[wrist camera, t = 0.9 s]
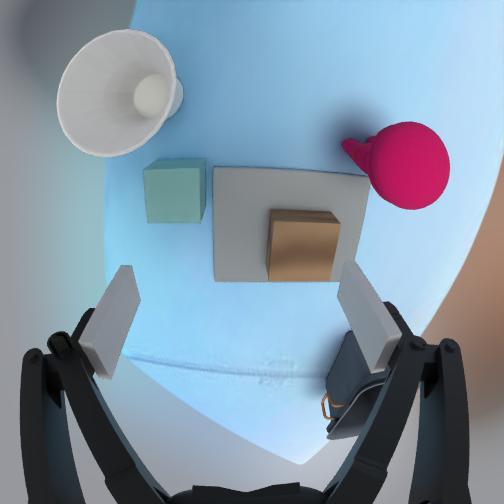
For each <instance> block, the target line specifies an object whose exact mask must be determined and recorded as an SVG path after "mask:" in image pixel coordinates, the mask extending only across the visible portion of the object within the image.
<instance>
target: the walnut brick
mask: <svg viewBox="0 0 504 504" xmlns="http://www.w3.org/2000/svg"><path fill="white" fill-rule="evenodd" d="M340 228H341V223H340V222H339V221H338V219H337V218H336V217H335V216H334V215H333V213H332V212H330V211H311V210H289V209H270V216H269V229H268V241H267V254H266V269H267V275H268V280H269V281H329V280H330V276H331V272H332V267H333V262H334V258H335V253H336V248H337V243H338V238H339V233H340Z"/></svg>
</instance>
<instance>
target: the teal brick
mask: <svg viewBox="0 0 504 504" xmlns="http://www.w3.org/2000/svg"><path fill="white" fill-rule="evenodd" d="M143 178H144V191H145V202H146V212H147V222H148V223H201V220H202V216H203V213H204V210H205V206H206V158H187V159H158V160H156V161H155V162H154V163H152V164H151V165H149V166H148V167H146V168H145V169H144V170H143Z"/></svg>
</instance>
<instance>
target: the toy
mask: <svg viewBox="0 0 504 504" xmlns="http://www.w3.org/2000/svg"><path fill="white" fill-rule="evenodd" d="M366 143H367V144H362V143H360V142H358V141H356V140H354V139H346V140H344V141H343V142H342V144H341V145H342V147H343V149H344V150H345V152H346V153H347V154H348V155H349V156H350V157H351V158H352V160H353V161H354V162H355V163H356V164H357V165H358V167H359V168H360V169H361V170H362V171H363V172H365V173H366V174H368V176H369V180H370V182H371V184H372V186H373V188H374V189H375V191H376V192H377V193H378V194H379V196H381V197H382V198H383V199H384V200H386V201H388V202H389V203H392V204H393V205H395V206H397V207H399V208H403V209H410V210H416V209H421V208H424V207H426V206H428V205H430V204H432V203H434V202H435V201H436V200H437V199H438V198H439V197H440V196H441V194H442V193H443V191H444V190H445V188H446V186H447V183H448V179H449V174H450V162H449V156H448V153H447V150H446V147H445V145H444V143H443V142H442V140H441V139H440V137H439V136H438V135H437V134H436V133H435V132H434V131H433V130H432V129H430V128H429V127H427V126H425V125H423V124H420V123H417V122H401V123H397V124H395V125H390V126H388V127H386V128H384V129H382V130H381V131H380V132H379V133H378V134H377V135H376V136H372V137H369V138H368V139H367V142H366Z"/></svg>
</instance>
